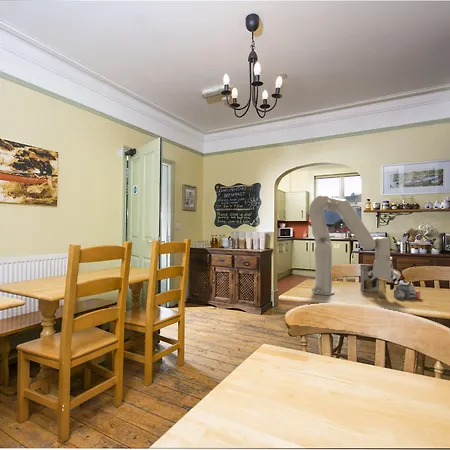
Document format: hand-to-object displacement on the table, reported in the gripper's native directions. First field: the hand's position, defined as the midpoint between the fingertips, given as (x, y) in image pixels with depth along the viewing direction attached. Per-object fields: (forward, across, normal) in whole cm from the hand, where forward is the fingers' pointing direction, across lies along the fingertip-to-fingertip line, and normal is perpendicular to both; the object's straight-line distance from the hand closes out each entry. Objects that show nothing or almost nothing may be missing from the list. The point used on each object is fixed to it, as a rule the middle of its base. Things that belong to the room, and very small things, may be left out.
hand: (383, 288), depth 175 cm
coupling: (+5, 0, 0) cm, 5 cm away
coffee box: (+5, +14, -12) cm, 19 cm away
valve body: (+6, -9, -11) cm, 15 cm away
